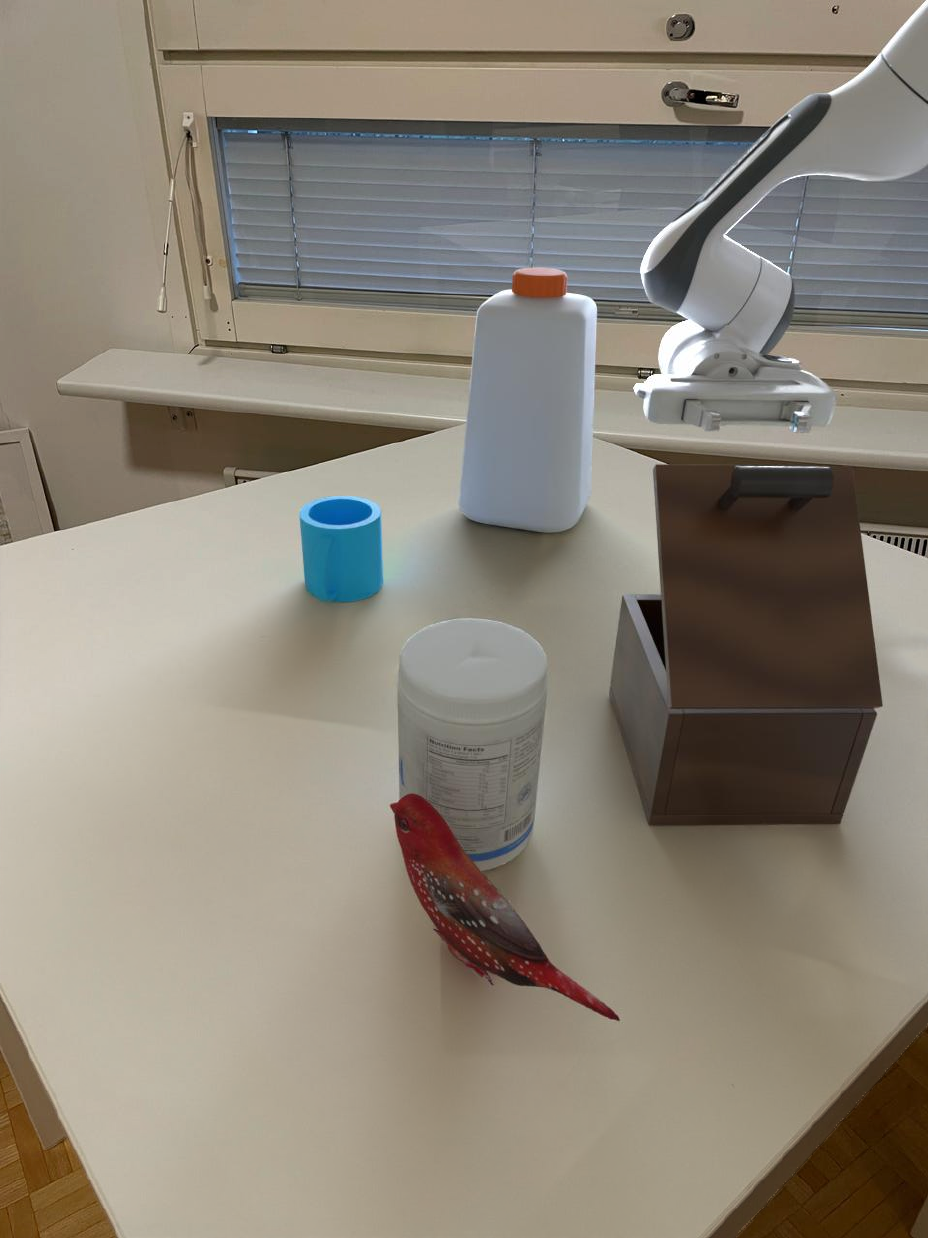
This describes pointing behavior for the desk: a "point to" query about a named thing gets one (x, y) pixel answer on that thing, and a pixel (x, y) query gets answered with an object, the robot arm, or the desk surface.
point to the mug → (342, 548)
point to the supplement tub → (474, 731)
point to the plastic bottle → (531, 406)
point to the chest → (726, 744)
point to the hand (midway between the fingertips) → (759, 425)
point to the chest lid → (764, 588)
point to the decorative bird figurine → (474, 907)
